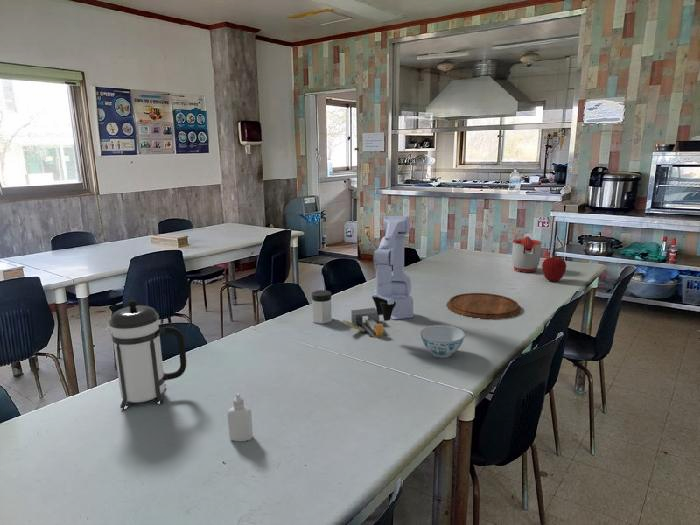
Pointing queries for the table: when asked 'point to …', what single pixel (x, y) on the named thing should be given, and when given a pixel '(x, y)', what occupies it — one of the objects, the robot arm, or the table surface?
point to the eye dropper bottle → (240, 421)
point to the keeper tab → (354, 326)
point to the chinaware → (442, 339)
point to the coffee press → (141, 353)
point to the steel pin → (374, 328)
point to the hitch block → (372, 314)
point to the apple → (553, 268)
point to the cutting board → (483, 306)
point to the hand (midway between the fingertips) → (383, 317)
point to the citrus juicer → (526, 254)
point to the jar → (321, 306)
